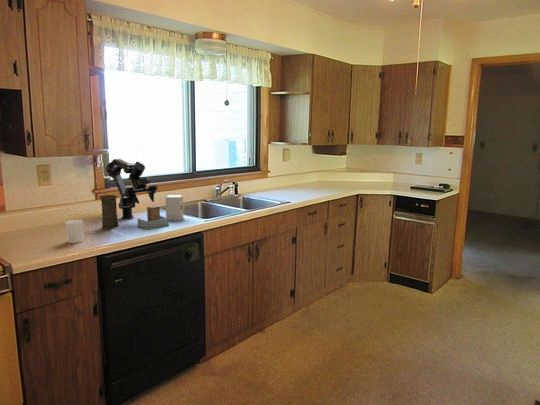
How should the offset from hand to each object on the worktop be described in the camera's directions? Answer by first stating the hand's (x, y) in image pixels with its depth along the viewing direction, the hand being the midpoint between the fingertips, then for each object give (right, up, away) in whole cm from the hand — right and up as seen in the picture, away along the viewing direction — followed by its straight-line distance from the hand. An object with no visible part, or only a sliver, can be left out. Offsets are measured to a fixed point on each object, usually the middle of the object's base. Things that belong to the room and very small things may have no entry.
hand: (146, 202), depth 233 cm
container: (-18, -14, -5) cm, 24 cm away
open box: (+5, -14, -3) cm, 15 cm away
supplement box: (+13, -11, +16) cm, 23 cm away
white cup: (-25, -19, -33) cm, 46 cm away
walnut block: (+5, -13, -3) cm, 15 cm away
